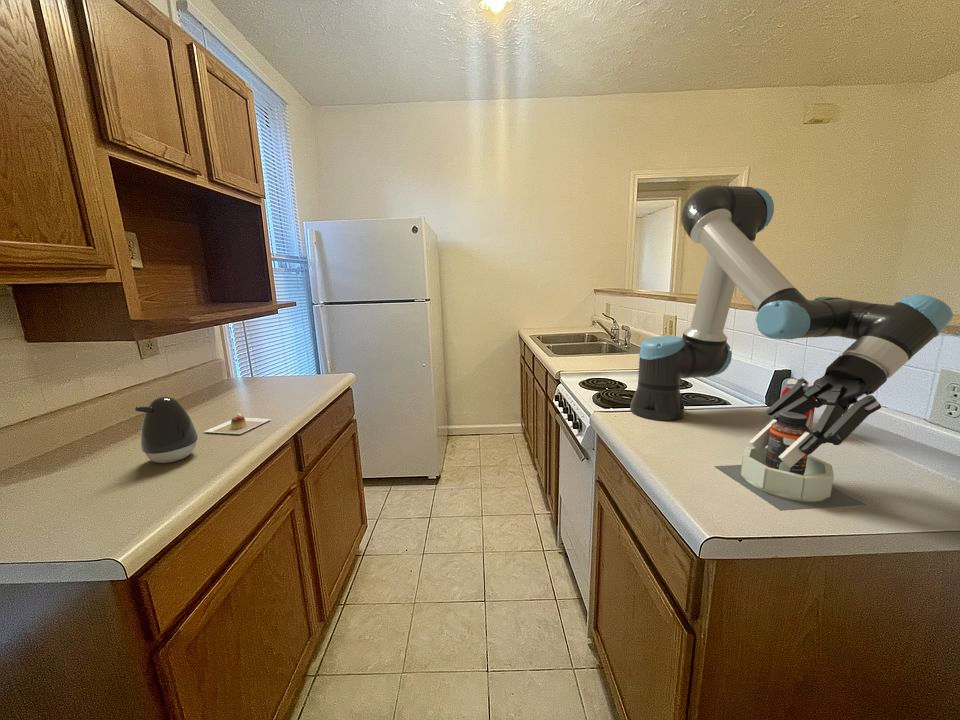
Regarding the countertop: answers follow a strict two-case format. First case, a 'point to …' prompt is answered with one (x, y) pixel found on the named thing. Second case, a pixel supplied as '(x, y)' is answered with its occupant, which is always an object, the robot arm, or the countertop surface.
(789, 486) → the bowl
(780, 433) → the supplement bottle
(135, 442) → the countertop surface
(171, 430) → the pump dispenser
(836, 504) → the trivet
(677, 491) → the countertop surface
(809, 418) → the soda can
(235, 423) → the dessert
